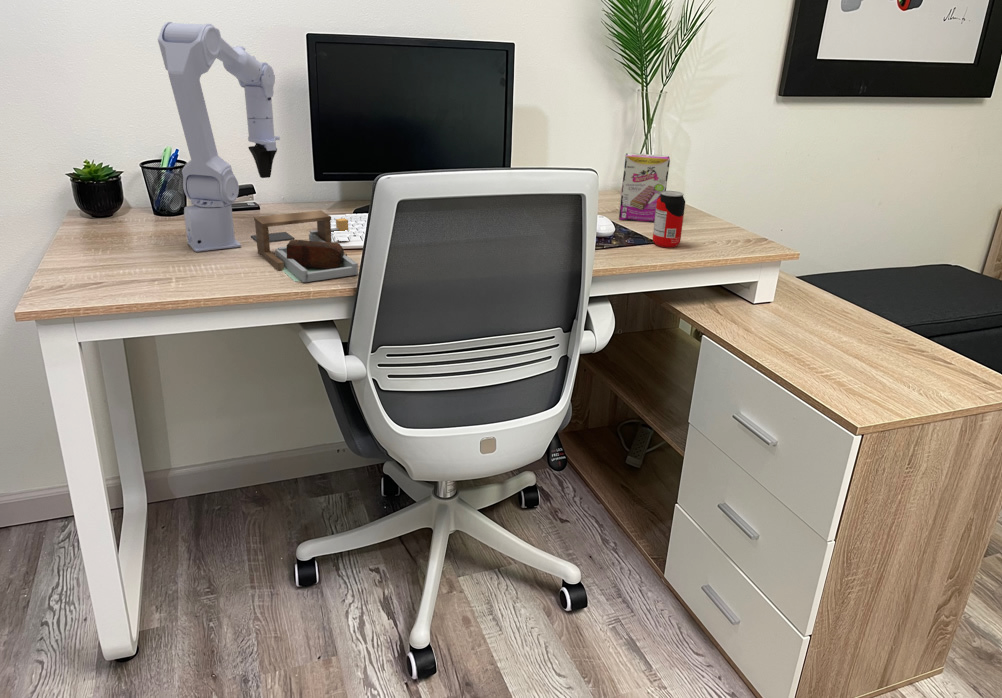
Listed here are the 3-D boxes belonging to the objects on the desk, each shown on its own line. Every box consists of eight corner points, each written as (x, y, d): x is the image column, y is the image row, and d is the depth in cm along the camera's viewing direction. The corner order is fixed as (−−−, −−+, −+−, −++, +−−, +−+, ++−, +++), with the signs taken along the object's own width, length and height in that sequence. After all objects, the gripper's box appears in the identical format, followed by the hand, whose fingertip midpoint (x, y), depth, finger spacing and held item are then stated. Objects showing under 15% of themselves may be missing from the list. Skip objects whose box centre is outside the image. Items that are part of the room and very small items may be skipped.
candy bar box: (618, 220, 200) (624, 155, 193) (618, 216, 204) (624, 152, 198) (662, 223, 199) (670, 158, 192) (662, 218, 203) (669, 154, 197)
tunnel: (278, 270, 153) (274, 233, 150) (257, 252, 164) (253, 217, 161) (347, 261, 160) (345, 225, 157) (322, 244, 171) (320, 210, 168)
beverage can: (682, 248, 177) (689, 196, 172) (655, 248, 177) (661, 195, 172) (675, 241, 183) (682, 190, 178) (649, 240, 183) (654, 189, 178)
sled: (303, 282, 146) (301, 258, 144) (263, 248, 165) (261, 227, 164) (393, 269, 156) (392, 246, 154) (345, 238, 175) (344, 218, 173)
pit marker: (258, 243, 170) (258, 242, 170) (250, 236, 174) (250, 235, 174) (294, 239, 174) (294, 238, 174) (285, 232, 178) (285, 231, 178)
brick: (286, 267, 153) (285, 244, 151) (291, 261, 157) (290, 239, 155) (341, 270, 153) (341, 247, 152) (344, 264, 157) (344, 241, 155)
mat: (295, 282, 147) (295, 281, 147) (278, 268, 155) (278, 267, 155) (359, 273, 154) (359, 272, 154) (340, 259, 161) (340, 258, 161)
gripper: (287, 120, 175) (291, 181, 180) (267, 113, 186) (272, 170, 191) (256, 122, 171) (261, 184, 177) (237, 114, 182) (243, 172, 188)
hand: (265, 177), depth 184 cm, fingers closed
